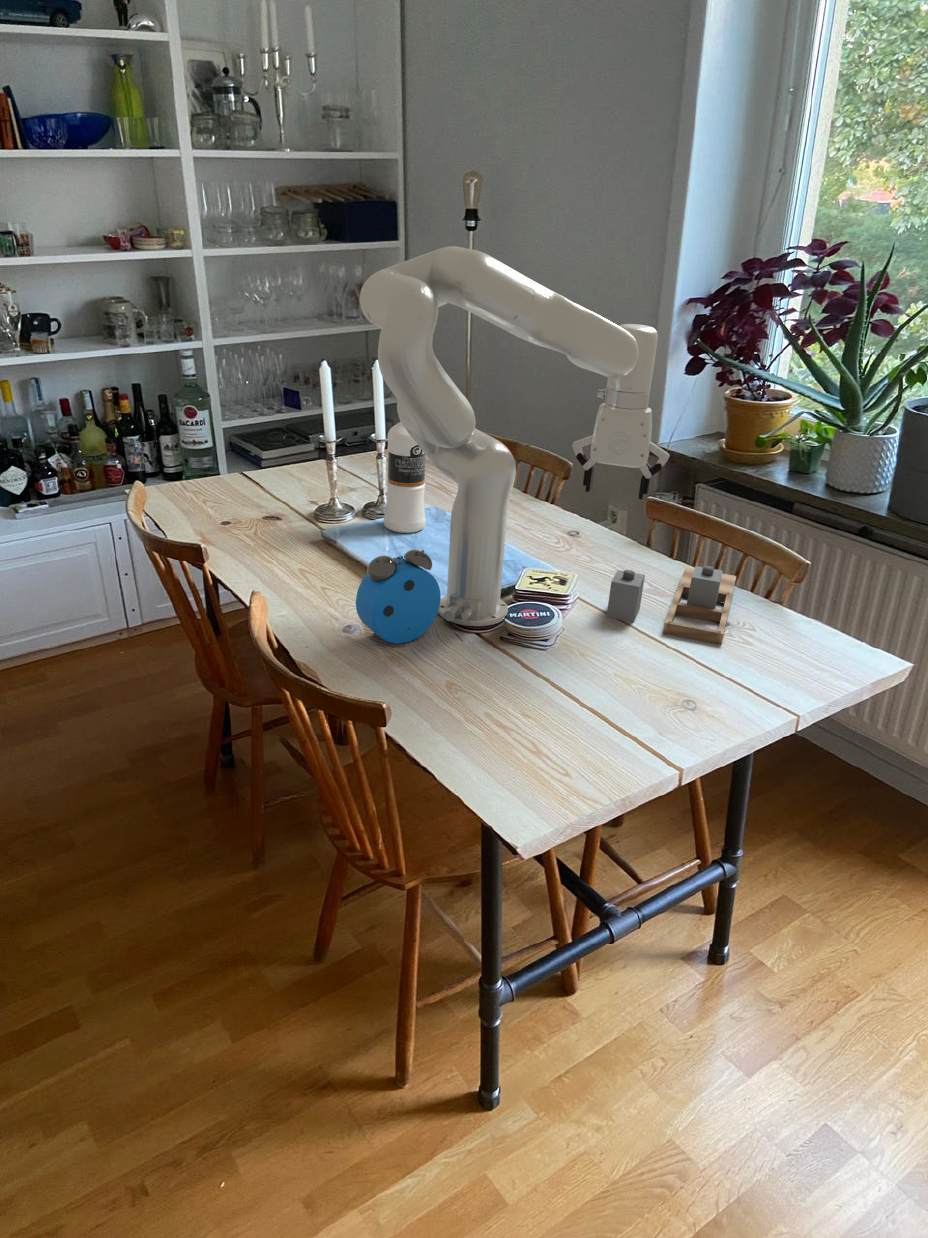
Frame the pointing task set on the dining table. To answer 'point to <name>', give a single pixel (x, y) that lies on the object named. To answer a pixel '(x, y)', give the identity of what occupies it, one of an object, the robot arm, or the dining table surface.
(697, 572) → the grey knobbed block
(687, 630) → the wooden crate frame
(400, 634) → the alarm clock
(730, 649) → the dining table surface
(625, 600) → the plug
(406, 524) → the vodka
